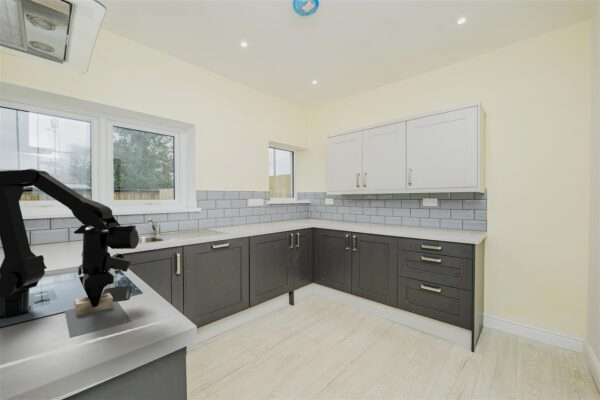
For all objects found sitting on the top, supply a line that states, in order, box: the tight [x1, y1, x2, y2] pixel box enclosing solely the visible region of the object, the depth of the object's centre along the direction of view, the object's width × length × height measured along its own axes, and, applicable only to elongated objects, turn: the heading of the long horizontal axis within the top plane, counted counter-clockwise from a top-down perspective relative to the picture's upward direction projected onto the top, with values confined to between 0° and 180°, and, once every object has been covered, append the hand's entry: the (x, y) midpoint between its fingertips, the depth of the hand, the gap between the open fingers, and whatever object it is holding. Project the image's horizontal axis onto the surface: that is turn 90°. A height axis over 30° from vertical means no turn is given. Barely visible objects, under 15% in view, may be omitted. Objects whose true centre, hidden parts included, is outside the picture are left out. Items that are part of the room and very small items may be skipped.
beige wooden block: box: [74, 293, 113, 316], centre depth 74 cm, size 8×5×3 cm, turn 135°
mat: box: [64, 301, 133, 338], centre depth 70 cm, size 20×12×1 cm, turn 45°
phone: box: [102, 285, 132, 302], centre depth 86 cm, size 8×1×15 cm
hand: (93, 303), depth 74 cm, fingers closed on beige wooden block, 5 cm apart
